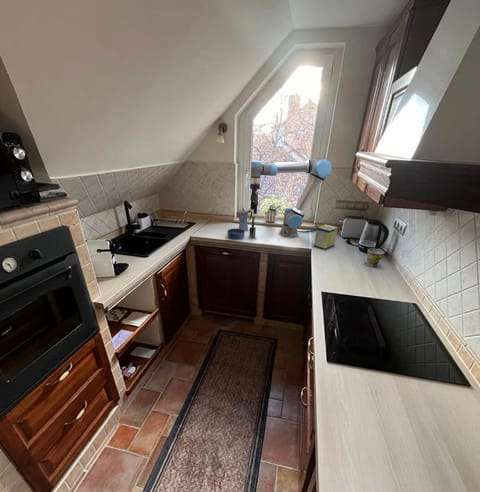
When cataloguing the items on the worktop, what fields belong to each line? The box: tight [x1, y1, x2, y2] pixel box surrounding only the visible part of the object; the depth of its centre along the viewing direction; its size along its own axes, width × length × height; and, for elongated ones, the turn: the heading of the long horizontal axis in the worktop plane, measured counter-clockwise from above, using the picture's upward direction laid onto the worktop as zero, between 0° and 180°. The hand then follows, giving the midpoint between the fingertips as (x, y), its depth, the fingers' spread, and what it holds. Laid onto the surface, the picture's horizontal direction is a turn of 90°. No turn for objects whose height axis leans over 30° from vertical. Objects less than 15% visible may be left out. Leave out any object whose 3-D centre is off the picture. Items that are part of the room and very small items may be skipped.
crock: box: [248, 226, 257, 239], centre depth 214 cm, size 5×5×9 cm
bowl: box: [226, 228, 246, 241], centre depth 214 cm, size 14×14×6 cm
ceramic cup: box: [365, 248, 385, 268], centre depth 172 cm, size 13×10×10 cm
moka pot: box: [236, 208, 253, 232], centre depth 229 cm, size 10×15×20 cm, turn 115°
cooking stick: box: [251, 215, 256, 229], centre depth 211 cm, size 2×2×18 cm
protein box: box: [313, 223, 339, 251], centre depth 201 cm, size 10×16×16 cm
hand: (253, 211), depth 205 cm, fingers open, 13 cm apart
